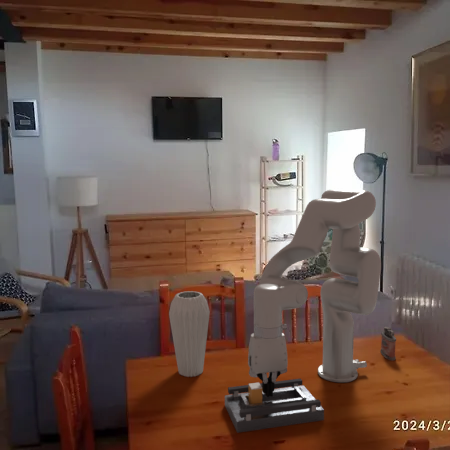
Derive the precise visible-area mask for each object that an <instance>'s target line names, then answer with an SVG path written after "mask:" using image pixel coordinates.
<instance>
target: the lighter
mask: <svg viewBox="0 0 450 450" xmlns="http://www.w3.org/2000/svg"><path fill="white" fill-rule="evenodd" d="M380 335H381V340H380V341H381V342H380V343H381V345H380V353H381V355H382V356H383V357H384V358H385V359H387V360H389V361H395V360H396V343H397V338H396V336H395V332H394V330H392V328H391V327H388V326H384V327H383V331H381V333H380Z"/></svg>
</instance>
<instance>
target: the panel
mask: <svg viewBox="0 0 450 450" xmlns="http://www.w3.org/2000/svg"><path fill="white" fill-rule="evenodd" d="M310 400H317V399H316V398H315V397H314V395H312V394H311V392H310V391H309V390H308V389H307V388H306V387H305V385H303V384H302V385H299V386H295V387H294V388H293V387H284V388H276V389H274V392H273V396H272V397H271V396H269V397H267V396H266V395H265V393H263V391H262V403H256V404H249V392H244V393H238V397H234V396H233V394H226V395H224V407H225V409H226V411H227V413H228V416H229V417H230V420H231V421H232V424H233V426H234V429H235V431H236V433H237V434H238V433H243V432H245V433H246V432H252V431H258V430H265V429H271V428H278V427H285V426H292V425H298V424H299V425H300V424H305V423H306V424H307V423H313V422H319V421H325V409H324V407H323V406H322V405H321V407H316V411H313V412H312V411H311V410H310V409H301V410H294V411H287V412H280V413H273V414H266V415H259V416H251V420H249V421H246V419H245V417H244V418H241V417H240V415H239V410H243V409H251V408H258V407H266V406H273V405H280V404H288V403H295V402H302V401H310Z"/></svg>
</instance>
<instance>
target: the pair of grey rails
mask: <svg viewBox="0 0 450 450" xmlns="http://www.w3.org/2000/svg"><path fill="white" fill-rule="evenodd" d="M259 383H260V382H259ZM260 385H261V386H262V382H261V383H260ZM295 386H303V379H302V378H293V379H287V380H276V382H274V389H280V388H287V387H293V388H294V387H295ZM227 392H228V395H233V396H234V397H238V394H240V393H248V392H249V385H248V384H246V385H245V384H244V385H239V386H237V385H236V386H229V387H228V388H227ZM321 406H322V401H321V400H320V399H319V398H318V399H316V400H310V401H302V402H295V403H288V404H280V405H273V406H266V407H258V408H251V409H243V410H239V415H240V417H241V418H244V417H245V419H246V421H249V420H251V416H259V415H266V414H273V413H280V412H287V411H294V410H301V409H310V410H311V411H312V412H313V411H316V407H321Z"/></svg>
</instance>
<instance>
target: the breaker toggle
mask: <svg viewBox="0 0 450 450" xmlns="http://www.w3.org/2000/svg"><path fill="white" fill-rule="evenodd" d="M247 385H249V404H256V403H262V386H261V385H260V382H252V383H250V382H249V383H248V384H247Z"/></svg>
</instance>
